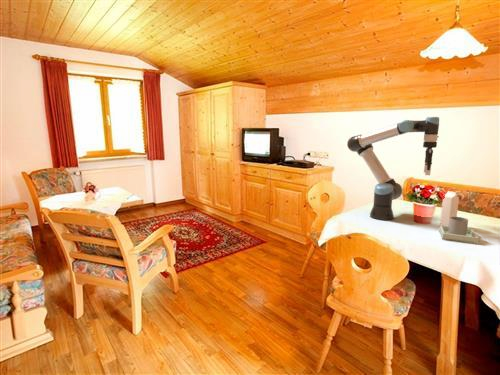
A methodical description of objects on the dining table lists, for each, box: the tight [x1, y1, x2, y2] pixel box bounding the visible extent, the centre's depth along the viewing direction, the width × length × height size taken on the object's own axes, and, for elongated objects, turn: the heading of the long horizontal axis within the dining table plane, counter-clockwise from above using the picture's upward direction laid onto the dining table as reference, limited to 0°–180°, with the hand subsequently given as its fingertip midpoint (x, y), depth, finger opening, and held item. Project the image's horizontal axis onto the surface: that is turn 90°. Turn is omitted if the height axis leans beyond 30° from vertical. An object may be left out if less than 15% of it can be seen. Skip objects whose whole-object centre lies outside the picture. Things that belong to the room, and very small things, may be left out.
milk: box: [439, 190, 460, 226], centre depth 186 cm, size 6×6×22 cm
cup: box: [448, 216, 469, 236], centre depth 166 cm, size 8×8×10 cm
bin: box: [438, 224, 479, 245], centre depth 167 cm, size 16×16×4 cm
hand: (426, 173), depth 194 cm, fingers open, 13 cm apart
